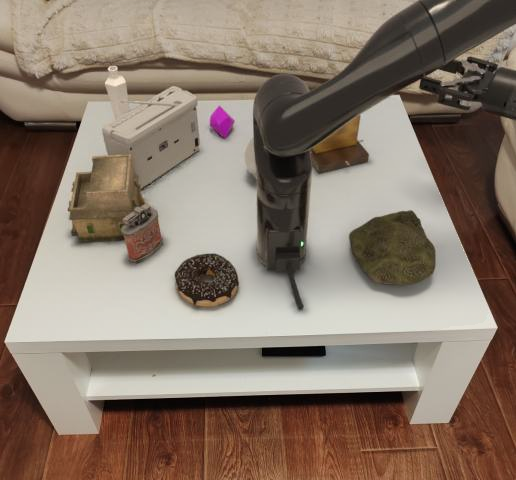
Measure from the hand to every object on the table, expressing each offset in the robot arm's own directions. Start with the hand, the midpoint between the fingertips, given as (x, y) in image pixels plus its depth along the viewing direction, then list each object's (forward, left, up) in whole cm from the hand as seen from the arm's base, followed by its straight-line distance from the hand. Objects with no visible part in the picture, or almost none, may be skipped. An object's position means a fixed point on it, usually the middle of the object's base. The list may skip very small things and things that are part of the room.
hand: (429, 72), depth 106 cm
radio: (+6, +54, -22) cm, 59 cm away
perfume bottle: (+19, +63, -22) cm, 70 cm away
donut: (-32, +43, -22) cm, 58 cm away
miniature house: (-12, +63, -22) cm, 68 cm away
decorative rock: (-28, +9, -23) cm, 37 cm away
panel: (+7, +15, -22) cm, 28 cm away
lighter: (-22, +55, -22) cm, 63 cm away
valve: (+6, +29, -22) cm, 37 cm away
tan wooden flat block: (+7, +15, -20) cm, 26 cm away
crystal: (+18, +40, -22) cm, 49 cm away
